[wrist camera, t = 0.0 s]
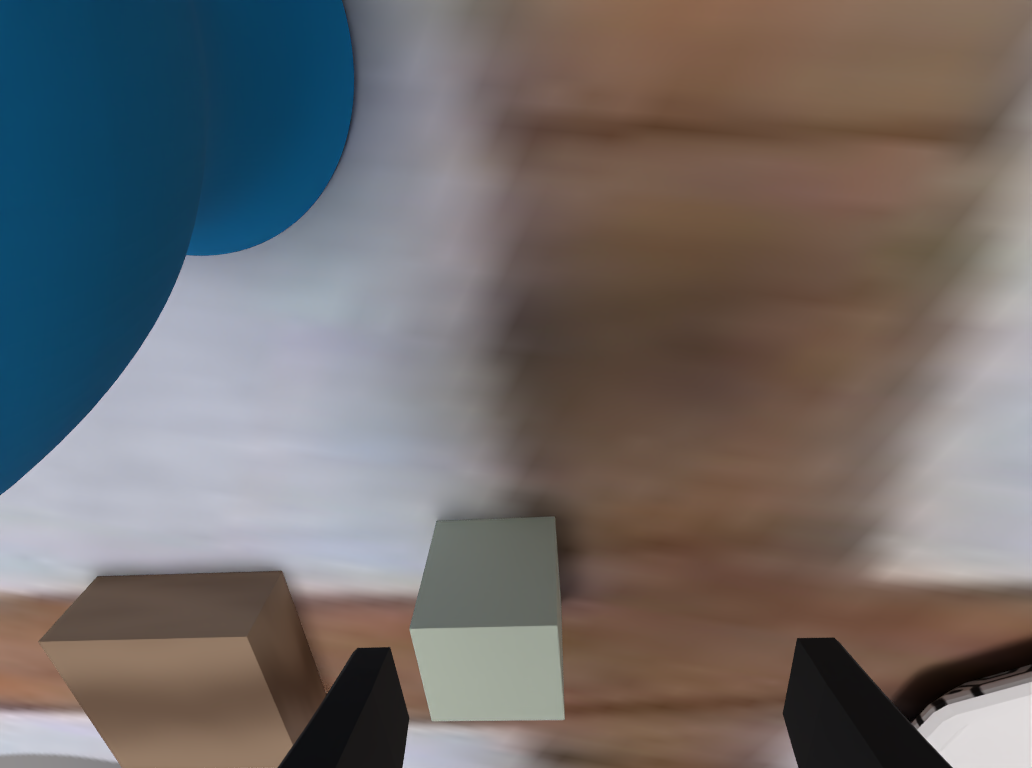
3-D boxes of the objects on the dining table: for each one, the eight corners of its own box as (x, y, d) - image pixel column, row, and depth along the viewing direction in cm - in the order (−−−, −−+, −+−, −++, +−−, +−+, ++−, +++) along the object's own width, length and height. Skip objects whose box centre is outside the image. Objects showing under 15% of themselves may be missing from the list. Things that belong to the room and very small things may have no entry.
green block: (561, 601, 24) (564, 720, 19) (452, 604, 24) (432, 721, 20) (554, 515, 22) (557, 625, 17) (436, 519, 22) (409, 628, 18)
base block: (329, 690, 28) (302, 767, 24) (169, 693, 28) (122, 769, 25) (285, 565, 24) (246, 636, 21) (102, 571, 24) (38, 641, 21)
